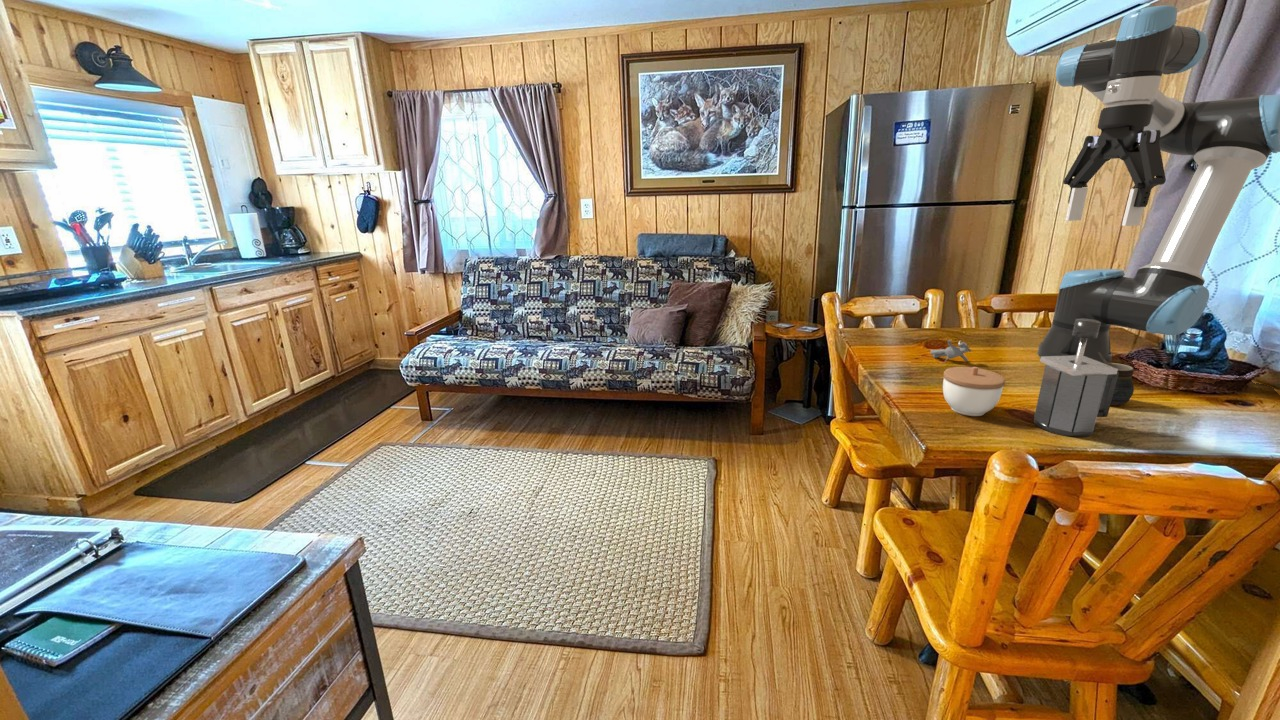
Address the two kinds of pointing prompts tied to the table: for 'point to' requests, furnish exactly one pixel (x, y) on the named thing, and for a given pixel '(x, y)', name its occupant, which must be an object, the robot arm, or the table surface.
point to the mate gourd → (1121, 383)
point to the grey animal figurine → (952, 351)
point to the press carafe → (1074, 395)
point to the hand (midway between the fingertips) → (1100, 223)
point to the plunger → (1084, 335)
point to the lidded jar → (972, 390)
